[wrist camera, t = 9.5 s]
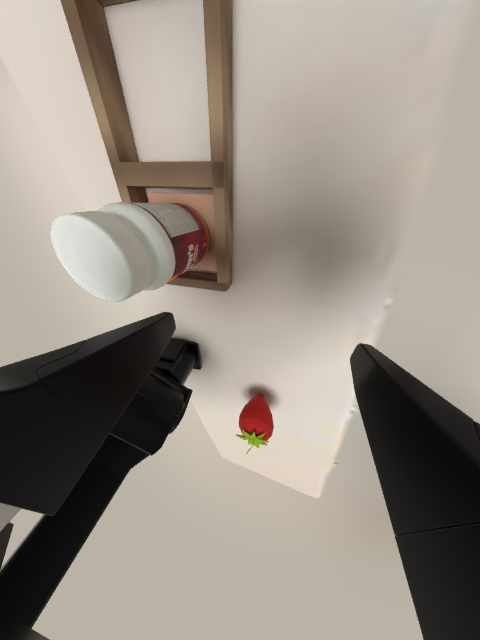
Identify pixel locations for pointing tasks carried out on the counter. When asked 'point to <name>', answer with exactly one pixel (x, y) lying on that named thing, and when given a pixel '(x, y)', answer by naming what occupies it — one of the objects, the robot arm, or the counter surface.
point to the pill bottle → (129, 246)
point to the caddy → (134, 176)
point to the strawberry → (256, 422)
